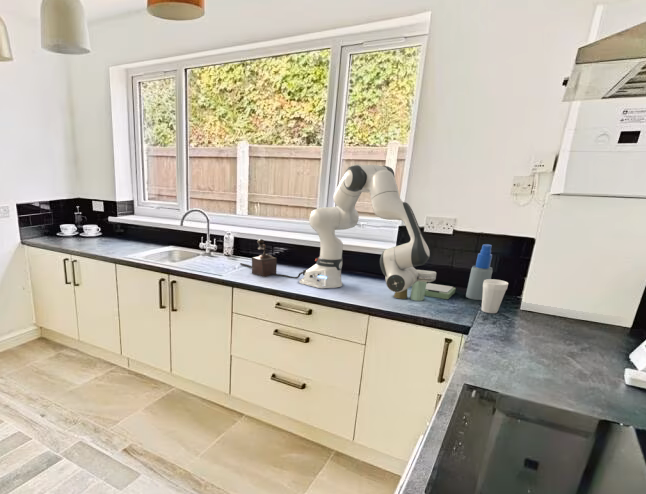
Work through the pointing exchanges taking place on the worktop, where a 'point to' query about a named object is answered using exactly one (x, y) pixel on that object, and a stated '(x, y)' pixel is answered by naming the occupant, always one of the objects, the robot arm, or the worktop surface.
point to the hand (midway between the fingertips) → (414, 271)
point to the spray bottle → (480, 273)
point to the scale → (439, 291)
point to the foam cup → (493, 294)
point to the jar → (418, 291)
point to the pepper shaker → (401, 294)
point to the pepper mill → (263, 262)
